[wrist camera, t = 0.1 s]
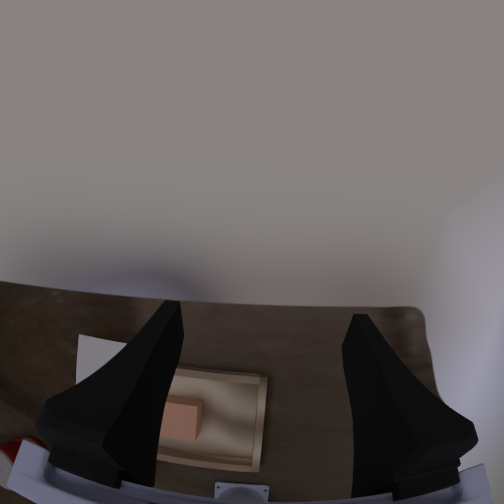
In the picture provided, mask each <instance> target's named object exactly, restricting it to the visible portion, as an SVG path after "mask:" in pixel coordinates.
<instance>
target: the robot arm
mask: <svg viewBox="0 0 504 504" xmlns="http://www.w3.org/2000/svg"><path fill="white" fill-rule="evenodd" d="M183 339H184V330H183V322H182V315H181V307H180V302H179V301H170V300H165V301H164V302H163V303H162V304H161V306H160V307H159V308H158V309H157V311H156V312H155V313H154V314H153V316H152V317H151V318H150V319H149V320H148V322H147V323H146V324H145V325H144V326H143V327H142V328H141V330H140V331H139V332H138V333H137V334H136V335H135V336H134V337H133V338H132V339H131V340H130V341H129V342H128V343H127V344H126V345H125V346H124V347H123V348H122V349H121V350H120V351H119V352H118V353H117V354H116V355H115V356H114V357H113V358H111V359H110V360H109V361H108V362H107V363H106V364H104V365H103V366H102V367H100V368H99V369H98V370H97V371H95V372H94V373H93V374H91V375H90V376H88V377H87V378H85V379H84V380H82V381H81V382H79V383H77V384H76V385H74V386H73V387H71V388H69V389H67V390H66V391H64V392H62V393H59V394H57V395H55V396H53V397H51V398H49V399H47V400H46V402H45V404H44V405H43V407H42V410H41V412H40V414H39V417H38V419H37V421H36V424H35V428H36V430H37V432H38V433H39V434H40V435H41V436H42V437H43V438H44V439H45V440H46V441H48V442H49V443H50V444H51V445H52V446H53V448H52V451H51V452H50V451H48V450H47V449H45V448H43V447H41V446H38V445H36V444H34V443H32V442H30V441H28V440H26V439H24V440H23V441H22V444H21V446H20V449H19V451H18V454H17V457H16V459H15V462H14V465H13V467H12V470H11V473H10V476H9V479H8V482H7V487H9V488H10V489H12V490H14V491H15V492H17V493H19V494H21V495H22V496H24V497H26V498H28V499H30V500H31V501H33V502H35V503H37V504H493V502H492V497H491V492H490V488H489V483H488V479H487V475H486V470H485V466H484V464H479V465H477V466H474V467H471V468H468V469H466V470H463V471H461V472H459V473H458V469H457V467H459V466H460V464H461V463H460V459H459V458H460V457H462V456H463V455H464V454H466V453H467V452H468V451H469V450H471V449H472V448H473V447H474V446H475V445H476V444H477V442H478V437H477V433H476V430H475V427H474V424H473V422H472V421H470V420H468V419H467V418H465V417H463V416H462V415H460V414H459V413H457V412H456V411H454V410H453V409H451V408H450V407H449V406H447V405H446V404H445V403H443V402H442V401H441V400H440V399H438V398H437V397H436V396H435V395H434V394H433V393H432V392H430V391H429V390H428V389H427V388H426V387H425V386H424V385H423V384H422V383H421V382H420V381H419V380H418V379H417V378H416V377H415V376H414V375H413V374H412V373H411V372H410V370H409V369H408V368H407V367H406V366H405V365H404V363H403V362H402V361H401V360H400V359H399V357H398V356H397V355H396V353H395V352H394V351H393V349H392V348H391V347H390V345H389V344H388V343H387V341H386V340H385V339H384V337H383V336H382V334H381V333H380V332H379V330H378V329H377V327H376V326H375V324H374V323H373V322H372V320H371V319H370V317H369V316H368V315H367V314H354V315H353V317H352V320H351V323H350V326H349V328H348V331H347V334H346V336H345V339H344V341H343V344H342V356H343V367H344V373H345V378H346V383H347V388H348V393H349V399H350V404H351V410H352V417H353V434H354V467H353V483H352V494H351V498H350V499H341V500H329V501H314V502H268V495H269V486H268V485H260V484H242V483H230V482H220V481H217V482H216V483H215V495H214V498H208V497H200V496H194V495H187V494H181V493H176V492H170V491H165V490H160V489H155V488H152V487H153V486H154V485H155V472H156V461H157V453H158V445H159V438H160V431H161V425H162V419H163V414H164V408H165V404H166V400H167V397H168V393H169V390H170V387H171V384H172V381H173V377H174V374H175V371H176V368H177V365H178V362H179V358H180V354H181V349H182V344H183ZM217 486H219V487H220V488H218V487H217ZM264 490H267V491H264Z"/></svg>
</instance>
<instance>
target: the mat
mask: <svg viewBox="0 0 504 504" xmlns="http://www.w3.org/2000/svg"><path fill="white" fill-rule="evenodd" d="M126 344H127V343H121V342H116V341H111V340H105V339H100V338H95V337H91V336H86V335H81V334H79V341H78V354H77V371H76V384H77V383H79V382H81V381H82V380H84V379H85V378H87V377H88V376H90V375H91V374H93V373H94V372H95V371H97V370H98V369H99V368H100V367H102V366H103V365H104V364H106V363H107V362H108V361H109V360H110V359H111V358H113V357H114V356H115V355H116V354H117V353H118V352H119V351H120V350H121V349H122V348H123V347H124V346H125V345H126Z"/></svg>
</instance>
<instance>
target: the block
mask: <svg viewBox="0 0 504 504" xmlns="http://www.w3.org/2000/svg"><path fill="white" fill-rule="evenodd" d="M202 406H203V399H196V398H189V397H182V396H175V395H169V394H168V397H167V400H166V404H165V408H164V414H163V419H162V425H161V431H160V436H163V437H168V438H174V439H180V440H186V441H193V442H195V441H196V439H197V438H198V436H199V434H200V432H201V422H202Z"/></svg>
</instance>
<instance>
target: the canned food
mask: <svg viewBox="0 0 504 504" xmlns="http://www.w3.org/2000/svg"><path fill="white" fill-rule="evenodd" d="M24 439H26V440H28V441H30V442H32V443H34V444H36V445H38V446H41V447H43V448H45V447H44V445H43V444H42V443H41V442H40V441H38V440H37V439H35V438H33V437H28V436H24V437H21V438H18V439H15V440H12V441H9V442H5V443H2V444H0V485H1V486H2V487H4V488H6V489H8V490H12V489H10V488H9V487H7V482H8V479H9V476H10V473H11V470H12V467H13V465H14V462H15V459H16V457H17V454H18V451H19V449H20V446H21V444H22V441H23V440H24ZM45 449H46V448H45Z"/></svg>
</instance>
